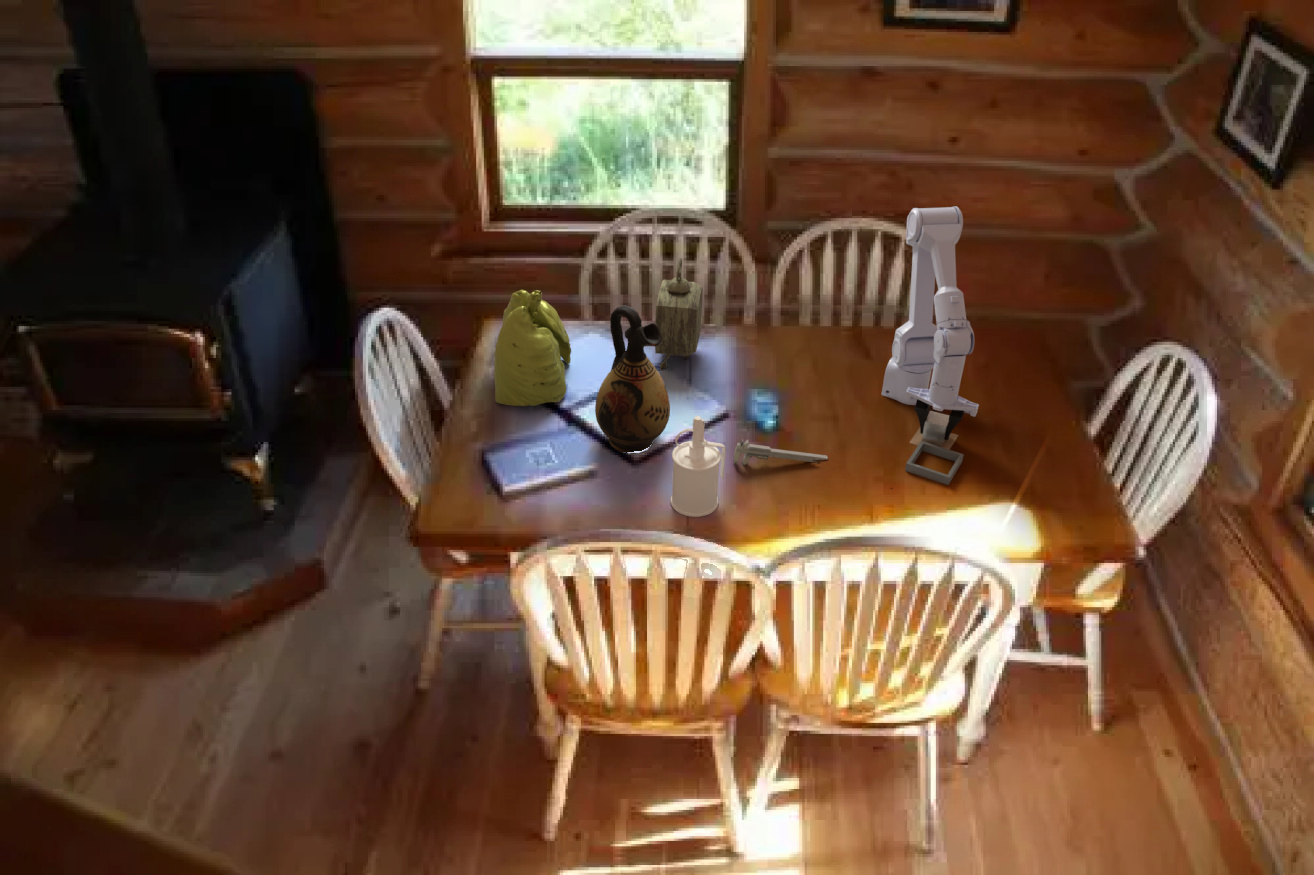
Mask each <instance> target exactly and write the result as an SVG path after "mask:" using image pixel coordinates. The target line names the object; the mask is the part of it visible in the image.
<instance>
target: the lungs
mask: <svg viewBox="0 0 1314 875" xmlns="http://www.w3.org/2000/svg"><path fill="white" fill-rule="evenodd" d="M542 298H543V292H542V291H541V290H537V289H536V290H533V291H532V292H531V293H529V292H528V291H527V290H524V289H520V290H518V291H515V292H513V293H512V294H511V297H510V300H509V303H508V305H507V307H506V308H505V309H504V311H503V316H502V317H503V318H502V326H501V327H500V329H499V333H498V335H497V338H496V343H495V348H494V352H493V355H494V357H493V358H494V362H493V364H494V365H493V368H494V369H493V379H494V388H495V389H494V390H495V393H494V399H495V402H496V403H497V404H500V405H501V404H502V405H507V406H511V407H513V406H514V407H518V406H519V407H528V406H532V407H533V406H535V407H536V406H538V405H542V404H545V403H558V402H561V400H562V399H564V397H565V395H566V393H567V383H566V370H565V364H564V362H565V363H566V364H567V365H568V364H571V354H572V348H571V343H570V341H571V340H570V336H569V335H568V332H567V330H566V329H565V328H566V327H565V324H564V323H563V321H562V320H561V318H560V315H558V311H557V310H556V309H555V308H554V307H553V306H552V305H551V303H550V304H549V303H548V302H547V301H546V300H543V299H542ZM562 360H563V361H564V362H563V361H562Z"/></svg>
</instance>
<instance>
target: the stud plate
mask: <svg viewBox="0 0 1314 875" xmlns="http://www.w3.org/2000/svg"><path fill="white" fill-rule="evenodd" d="M922 435H923V434H921V433H920V427H918V429H917V431H915V433H914V435H913V437H912V438H911V439H910V441H909V444H911V445H915V446H916V447H917V446H918V445H919V443H920V442H921V440H922ZM958 437H959V434H956V433H952V432H951V433H950V436H949V439H948V440H945V441H944V444H943V446H942V448H945V449H949V450H951V448H952V447H953V445H954V443H955V442H956V440H957V438H958ZM933 445H934V444H933ZM936 446H938V445H936ZM939 447H941V446H939Z"/></svg>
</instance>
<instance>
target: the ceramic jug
mask: <svg viewBox="0 0 1314 875" xmlns="http://www.w3.org/2000/svg"><path fill="white" fill-rule="evenodd" d="M622 318H626V319H627V321H628V324H629V327H628V328H627V329H626V330H625V331H624V332H623V328H622V323H621V322H622ZM609 320H610V333H611V339H612V344H613V348H614V352H615V357H614V358H613V361H612V364H611V368H610V371H609V372H608V373H607V375H606V376H605V377H604V379H603V381H602V383H601V384H600V387H599V389H598V391H597V392H598V393H597V396H596V400H595V404H594V405H595V407H594V411H595V412H594V413H595V419H596V422H597V425H598V426H599V428H600V430H601V431H602V433H603V434H604V436H606V437H607V439H608V442H609V444H610V446H611V447H612V448H614V450H616V451H618V452H620V453H621V454H623V453H622V452H626V453H627V452H634V451H642V450H644V449H646V448H648V447H650V445H651V444H652V442H653V443H654V441H655V440H656V439H657V438H659V437H660V436H661V435H662V434H663V432H664V431H665V429H666V427H667V425H668V423H669V420H670V416H671V415H670V414H671V404H670V400H669V399H670V398H669V392H668V389H667V386H666V384H665V382H664V379H663V378H662V376H661V374H660V373H659V371H658V370H657V368H656V367H655V365H654V364H653V363H652V362H651V360H650V359H649V358H648V356H647V354H646V352H645V349H644V348H645V347H655V346H659V345H660V344H661V343H662V340H663V339H662V335H661V332H660V329H659V328H658V327H657V325H656V324H655V322H654V323H653V322H652V323H650V324H646V325H644V326H642V322H643V321H642V318H641V316H640V314H639V312H638V311H637V310H636V309H635V308H634V307H632V306H629V305H625V304H624V305H620V306H618V307H616V308H615V309H614V310H613V311H612V313H611V314H610V318H609ZM624 338H626V339H627V347H626V343H625V340H624ZM652 445H653V444H652ZM650 448H651V447H650Z"/></svg>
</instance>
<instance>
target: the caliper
mask: <svg viewBox="0 0 1314 875" xmlns="http://www.w3.org/2000/svg"><path fill="white" fill-rule="evenodd" d="M742 454H743V456H742V457H743V458H742V461H741V464H742V466H746V465H747V463H748V462H749V461H750V460H751V458H753V457H755V458H757V459H760V460H764V461H765V460H768V459H769V458H775V459H783V460H784V459H785V460H793V461H799V462H800V461H801V462H809V463H816V464H820V462H819V461H824V460H825V461H827V460H828V459H829V458H828V455H825V454H817V453H811V452H810V453H809V452H802V451H794V450H785V449H778V448H771V446H767V445H760V444H759V445H758V444H755V443H754V444H753V443H750V442H749V439H746V440H745V441H744V440H743V438H741V440H740V442H737V443H736V445H735V448H734V450H733V464H734V465H735V466H737V464H738V463H739V459H740V456H741V455H742Z"/></svg>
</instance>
